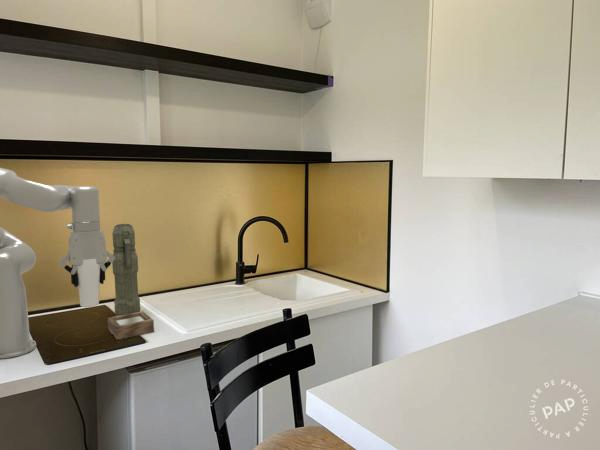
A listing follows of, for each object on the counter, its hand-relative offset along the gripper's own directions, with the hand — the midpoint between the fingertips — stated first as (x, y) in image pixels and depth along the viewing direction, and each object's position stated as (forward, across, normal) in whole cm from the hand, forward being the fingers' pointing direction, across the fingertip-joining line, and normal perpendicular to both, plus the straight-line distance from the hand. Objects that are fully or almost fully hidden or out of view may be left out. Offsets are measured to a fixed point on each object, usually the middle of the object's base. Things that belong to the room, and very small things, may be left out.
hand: (88, 284), depth 136 cm
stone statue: (+20, +17, +22) cm, 34 cm away
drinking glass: (+7, 0, 0) cm, 7 cm away
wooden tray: (+20, +14, +7) cm, 25 cm away
